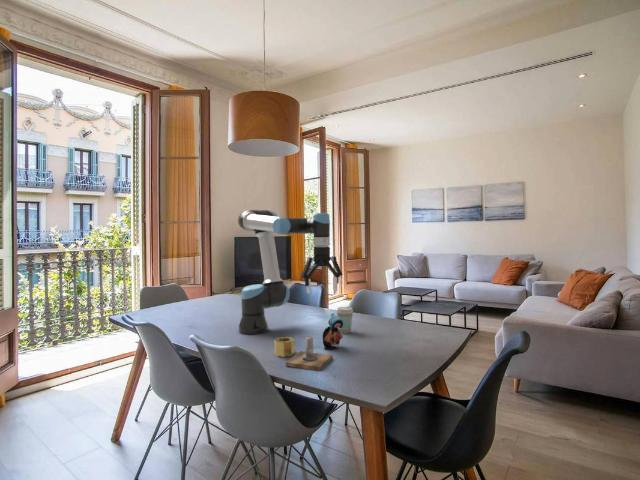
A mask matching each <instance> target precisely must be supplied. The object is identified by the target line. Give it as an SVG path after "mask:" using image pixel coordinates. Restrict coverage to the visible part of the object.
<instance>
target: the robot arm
mask: <svg viewBox="0 0 640 480" xmlns="http://www.w3.org/2000/svg"><path fill="white" fill-rule="evenodd" d="M330 218H331V217H330V214H329V213H327V212H316V213H313V217H284V216H278V214H277V213H276V212H274V211H273V210H267V209H246V210H244V211H242V212H241V213H240V214H239V216H238V218H237V222H238V225H239V228H241V229H242V230H243V231H247V232H254V234H255V237H257V238H258V244H259V250H260V251H259V252H260V259H261V265H262V271H263V277H264V278H263V282H262V284H261V283H259V284H258V283H257V284H251V285H246V286H245V287H243V288H242V290H241V296H240V298H241V319H240V321H239V325H238V332H239V334H243V335H258V334H262V333H266V332H267V331H269V325H268V321H267V319H266V316H265V315H266V314H265V309H272V308H276V307H278V308H279V307H282V306H284V305H286V304H288V301H289V299H290V295H291V294H290V288H289V287H288V285H287V284H285V283H284V280H283V279H282V278H281V275H280V267H279V262H278V254H277V248H276V242H275V235H276V234H277V235H292V234H293V235H297V234H299V235H301V234H302V235H305V234H308V235H309V234H311V235H313V246H314V247H313V257H310V256H307V261H306V263H305V266H304V268H303V271H302V272H301V274H300V277H301V278H302V279H304V285H305V287H306V293H307V294H309V295H310V294H311V292H312V290H311V289H312V287H311V286H312V283H311V281H312V280H311V279H310V277H312V275H313V274H314V272H315V271H316V270H317V268H318V267H327V269H328V270H329V271H330V272H331V273H332V274H333V277H332V286H333V287H332V290H333V292H338V284H339V283H340V282H339V278H340V277H341V276H343V272H342V270H341V268H340V266H339V264H338V261H337V256H335V255H332V256H331V247H330V246H331V238H330V235H331V234H330V232H331V228H330V227H331V226H330V225H331V222H330ZM313 262H314V263H313ZM330 262H332V263H330ZM312 263H313V264H312ZM332 265H333V266H332Z"/></svg>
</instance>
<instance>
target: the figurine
mask: <svg viewBox="0 0 640 480" xmlns="http://www.w3.org/2000/svg"><path fill="white" fill-rule="evenodd" d="M327 324H328V325H329V326H327V327H326V328H325V329H324V330H323V332H322V338H321V339H322V343H323V347H324V348H323V350H324V351H331V350H336V349H337V348H339V345H340V342H341V341H340V340H342V339H343V333H341V332H340V330H339V328H342V327H343V320H342V319H340V318H338V316H337V315H335V313H331V314H330V318H329V320H328V323H327Z"/></svg>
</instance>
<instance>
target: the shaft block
mask: <svg viewBox="0 0 640 480" xmlns="http://www.w3.org/2000/svg"><path fill="white" fill-rule="evenodd" d="M332 359H333V354H330V353H329V354H328V353H319V352H314V337H312V336H311V337H310V336H308V337H305V351H299V352H298V353H296V354H294V355H293V356H291V358H290V359H288V360H287V361H286V362H285V367H287V366H291V367H290V368H295V367H297V369H302V368H303V369H304V370H310V369H312V371H318V370H319V371H318V372H320V371H322V369H324V368H325V367H326V366H327V364H328V363H330V361H332Z"/></svg>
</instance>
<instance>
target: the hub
mask: <svg viewBox="0 0 640 480" xmlns="http://www.w3.org/2000/svg"><path fill="white" fill-rule="evenodd" d="M295 340H296V339H295V338H294V337H291V336H281V337H277V338H274V340H273V353H274V355H275V356H276V357H278V356H281V357H280V358H287V357H286V356H289V357H293V356H294V355H296V354H295V353H296V352H295V351H296V347H295V346H296V343H295V342H296V341H295ZM293 354H294V355H293Z"/></svg>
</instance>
